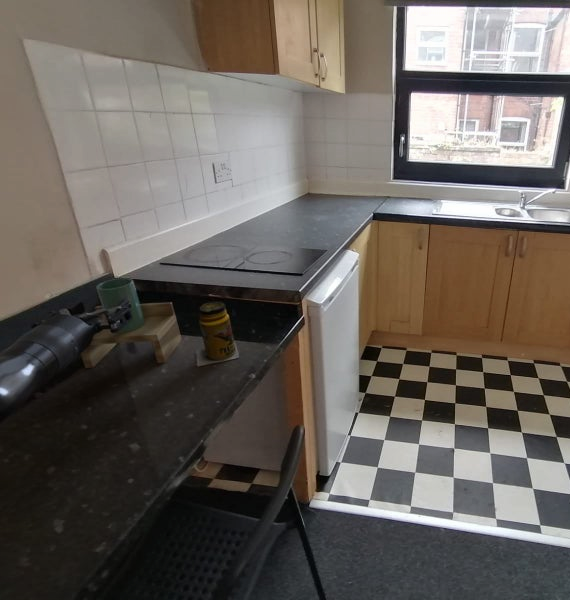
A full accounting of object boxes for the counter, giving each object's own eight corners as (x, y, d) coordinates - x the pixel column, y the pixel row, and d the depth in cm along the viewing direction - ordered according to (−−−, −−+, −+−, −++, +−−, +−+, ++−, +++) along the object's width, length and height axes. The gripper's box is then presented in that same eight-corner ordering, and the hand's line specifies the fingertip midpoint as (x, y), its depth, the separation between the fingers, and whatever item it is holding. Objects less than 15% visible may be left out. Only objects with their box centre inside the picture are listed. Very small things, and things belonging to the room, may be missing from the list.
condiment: (239, 358, 89) (229, 309, 84) (197, 367, 86) (184, 317, 81) (235, 343, 95) (226, 296, 90) (196, 351, 92) (184, 303, 87)
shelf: (85, 368, 86) (69, 326, 81) (110, 344, 95) (97, 305, 90) (165, 362, 87) (153, 321, 83) (181, 339, 96) (172, 302, 92)
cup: (103, 330, 86) (88, 287, 82) (130, 317, 92) (117, 276, 88) (126, 334, 84) (112, 291, 80) (151, 321, 90) (140, 280, 86)
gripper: (91, 323, 65) (137, 285, 80) (-6, 328, 63) (59, 289, 78) (105, 362, 68) (147, 319, 83) (13, 368, 66) (72, 323, 81)
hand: (104, 304), depth 80 cm, fingers open, 8 cm apart
